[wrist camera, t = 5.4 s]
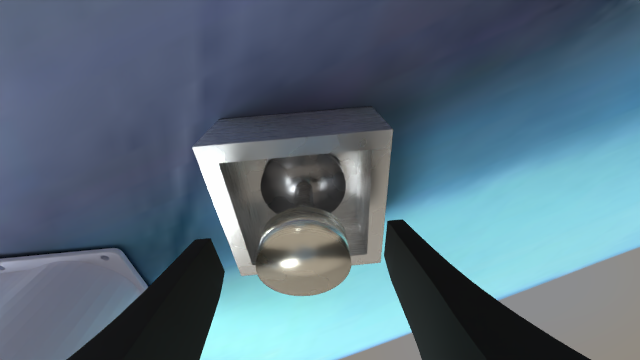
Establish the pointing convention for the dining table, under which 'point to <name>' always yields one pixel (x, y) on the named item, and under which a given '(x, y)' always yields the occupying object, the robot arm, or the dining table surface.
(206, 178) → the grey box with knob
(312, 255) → the metal door knob
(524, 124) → the dining table surface
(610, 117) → the dining table surface
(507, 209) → the dining table surface
